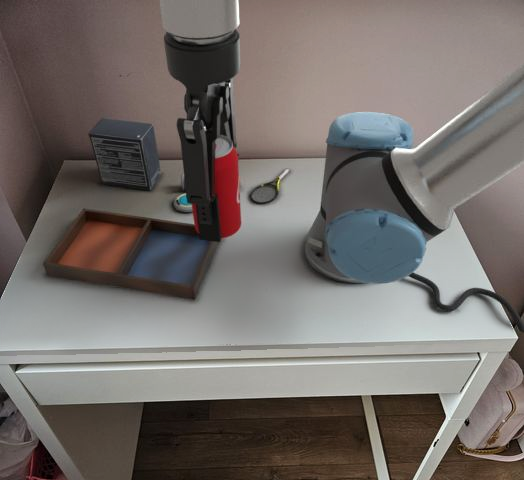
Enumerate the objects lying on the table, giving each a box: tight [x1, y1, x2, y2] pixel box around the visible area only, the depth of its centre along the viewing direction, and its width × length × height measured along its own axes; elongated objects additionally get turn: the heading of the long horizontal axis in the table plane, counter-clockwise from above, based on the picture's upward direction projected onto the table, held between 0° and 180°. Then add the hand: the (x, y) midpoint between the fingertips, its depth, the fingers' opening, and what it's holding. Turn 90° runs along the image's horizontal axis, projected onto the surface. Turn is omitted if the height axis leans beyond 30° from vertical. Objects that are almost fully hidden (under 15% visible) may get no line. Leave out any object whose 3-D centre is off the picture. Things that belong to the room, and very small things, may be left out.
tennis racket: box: [250, 168, 290, 205], centre depth 101 cm, size 12×1×5 cm
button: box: [173, 192, 193, 213], centre depth 96 cm, size 5×5×1 cm
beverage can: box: [192, 135, 242, 240], centre depth 65 cm, size 6×6×12 cm
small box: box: [87, 117, 162, 191], centre depth 98 cm, size 11×6×10 cm, turn 77°
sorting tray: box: [42, 207, 221, 301], centre depth 87 cm, size 25×15×2 cm, turn 77°
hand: (217, 222), depth 69 cm, fingers closed on beverage can, 6 cm apart
